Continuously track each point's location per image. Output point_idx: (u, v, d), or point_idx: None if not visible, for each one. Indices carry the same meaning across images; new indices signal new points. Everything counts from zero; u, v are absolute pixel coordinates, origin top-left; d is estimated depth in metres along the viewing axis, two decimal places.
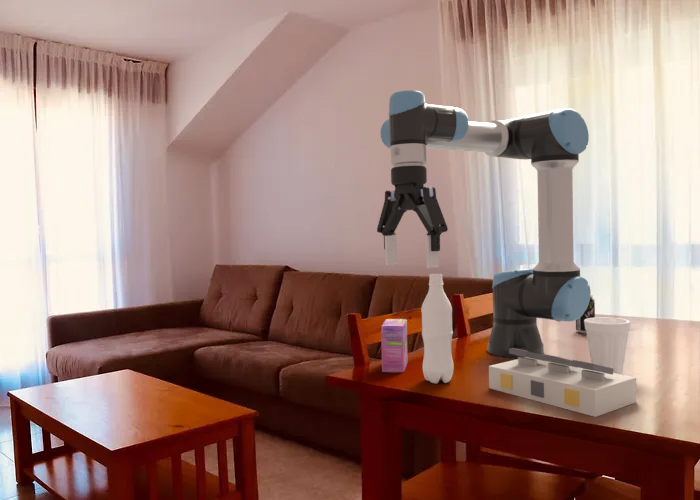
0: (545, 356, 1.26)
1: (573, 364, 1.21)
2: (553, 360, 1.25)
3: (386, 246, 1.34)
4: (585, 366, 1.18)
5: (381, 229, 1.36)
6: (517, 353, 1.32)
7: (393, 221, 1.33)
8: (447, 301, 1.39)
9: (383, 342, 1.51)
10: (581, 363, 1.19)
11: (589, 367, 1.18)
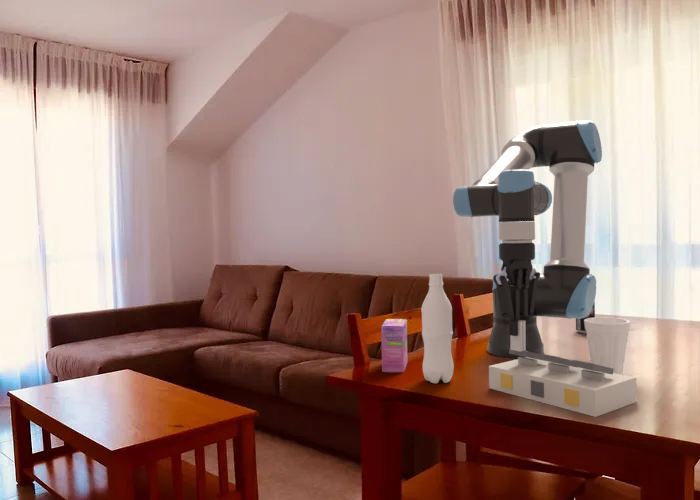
0: (545, 356, 1.26)
1: (573, 364, 1.21)
2: (553, 360, 1.25)
3: None
4: (585, 366, 1.18)
5: None
6: (517, 353, 1.32)
7: None
8: (447, 301, 1.39)
9: (383, 342, 1.51)
10: (581, 363, 1.19)
11: (589, 367, 1.18)
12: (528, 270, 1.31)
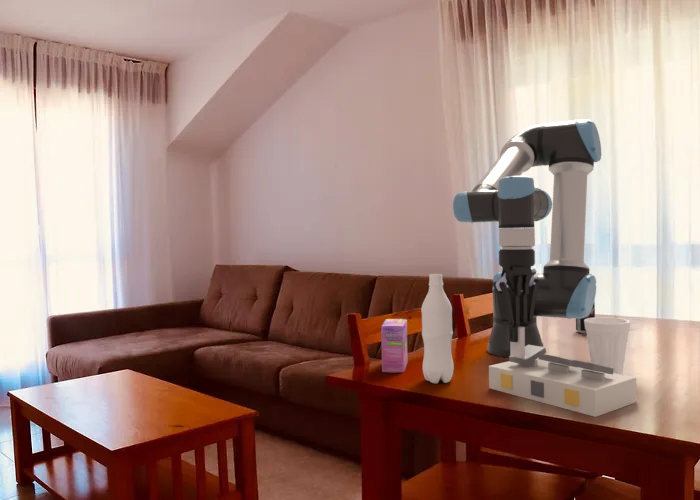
0: (545, 356, 1.26)
1: (573, 364, 1.21)
2: (553, 360, 1.25)
3: None
4: (585, 366, 1.18)
5: None
6: (517, 361, 1.32)
7: None
8: (447, 301, 1.39)
9: (383, 342, 1.51)
10: (581, 363, 1.19)
11: (589, 367, 1.18)
12: (528, 276, 1.31)
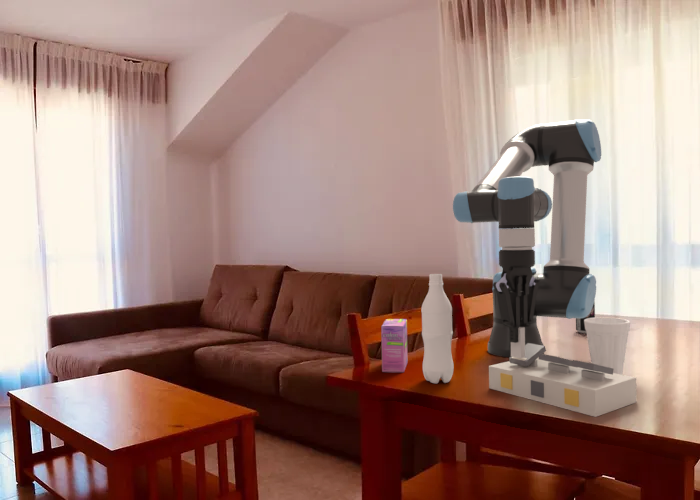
0: (545, 356, 1.26)
1: (573, 364, 1.21)
2: (553, 360, 1.25)
3: None
4: (585, 366, 1.18)
5: None
6: (518, 363, 1.32)
7: None
8: (447, 301, 1.39)
9: (383, 342, 1.51)
10: (581, 363, 1.19)
11: (589, 367, 1.18)
12: (528, 277, 1.31)
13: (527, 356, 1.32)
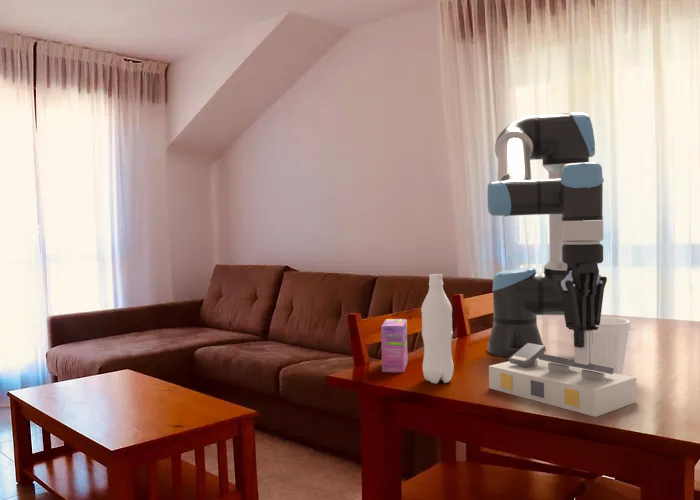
0: (545, 356, 1.26)
1: (573, 364, 1.21)
2: (553, 360, 1.25)
3: None
4: (585, 366, 1.18)
5: None
6: (518, 363, 1.32)
7: None
8: (447, 301, 1.39)
9: (383, 342, 1.51)
10: (581, 364, 1.19)
11: (589, 367, 1.18)
12: (595, 274, 1.18)
13: (527, 356, 1.32)
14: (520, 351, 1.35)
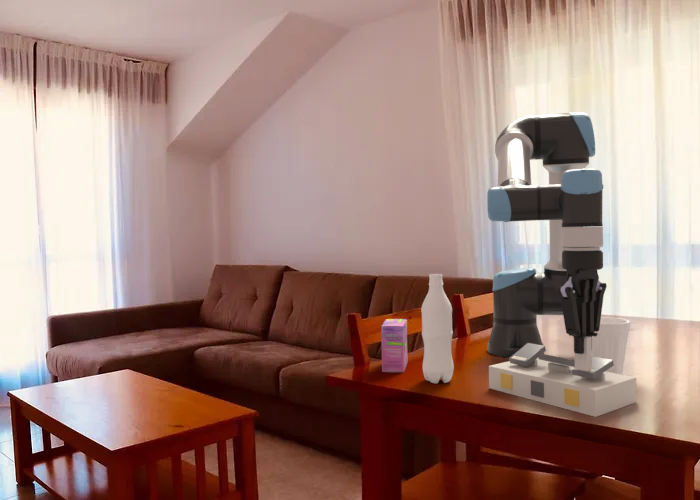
0: (545, 356, 1.26)
1: (573, 373, 1.21)
2: (553, 360, 1.25)
3: None
4: (585, 375, 1.19)
5: None
6: (518, 363, 1.32)
7: None
8: (447, 301, 1.39)
9: (383, 342, 1.51)
10: (580, 372, 1.19)
11: (589, 376, 1.18)
12: (595, 281, 1.18)
13: (527, 356, 1.32)
14: (520, 351, 1.35)
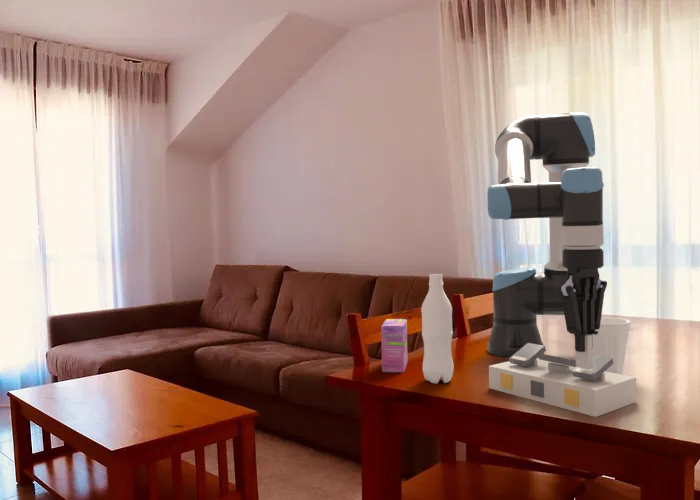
0: (545, 356, 1.26)
1: (574, 375, 1.21)
2: (553, 360, 1.25)
3: None
4: (586, 377, 1.19)
5: None
6: (518, 363, 1.32)
7: None
8: (447, 301, 1.39)
9: (383, 342, 1.51)
10: (581, 374, 1.19)
11: (590, 378, 1.18)
12: (596, 279, 1.18)
13: (527, 356, 1.32)
14: (520, 351, 1.35)
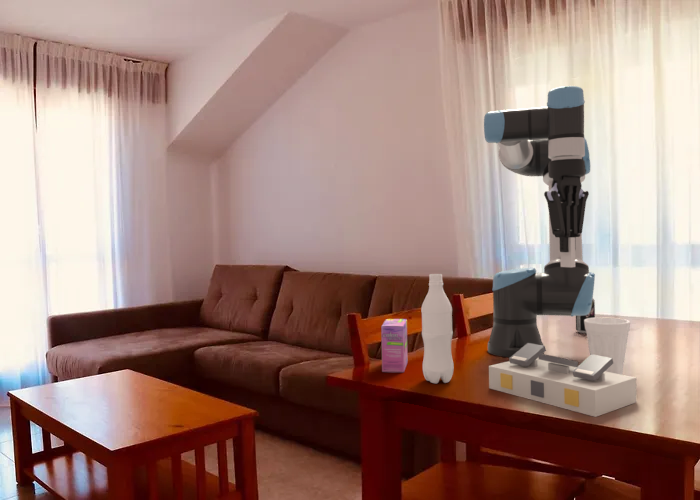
0: (545, 356, 1.26)
1: (574, 375, 1.21)
2: (553, 360, 1.25)
3: None
4: (586, 377, 1.19)
5: None
6: (518, 363, 1.32)
7: None
8: (447, 301, 1.39)
9: (383, 342, 1.51)
10: (581, 375, 1.19)
11: (590, 378, 1.18)
12: (578, 187, 1.32)
13: (527, 356, 1.32)
14: (520, 351, 1.35)
